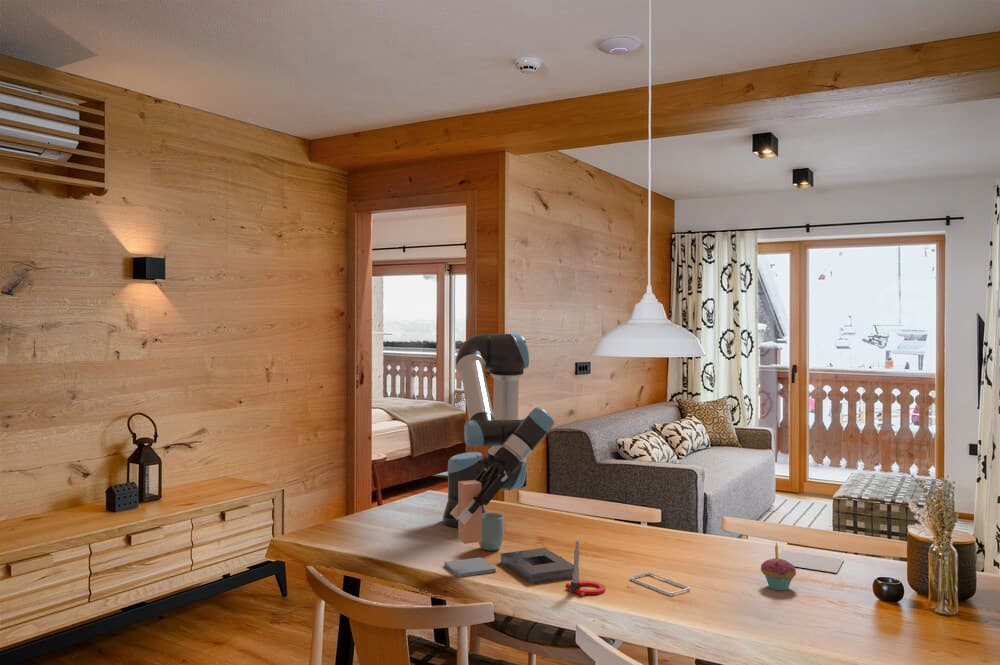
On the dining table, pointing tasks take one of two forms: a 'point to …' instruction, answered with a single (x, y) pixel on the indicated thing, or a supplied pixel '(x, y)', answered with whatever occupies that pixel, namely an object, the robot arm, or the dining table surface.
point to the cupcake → (778, 572)
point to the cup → (492, 531)
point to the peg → (474, 525)
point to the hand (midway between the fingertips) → (457, 518)
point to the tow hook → (576, 583)
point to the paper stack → (811, 561)
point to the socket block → (538, 565)
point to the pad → (469, 567)
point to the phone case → (657, 587)
